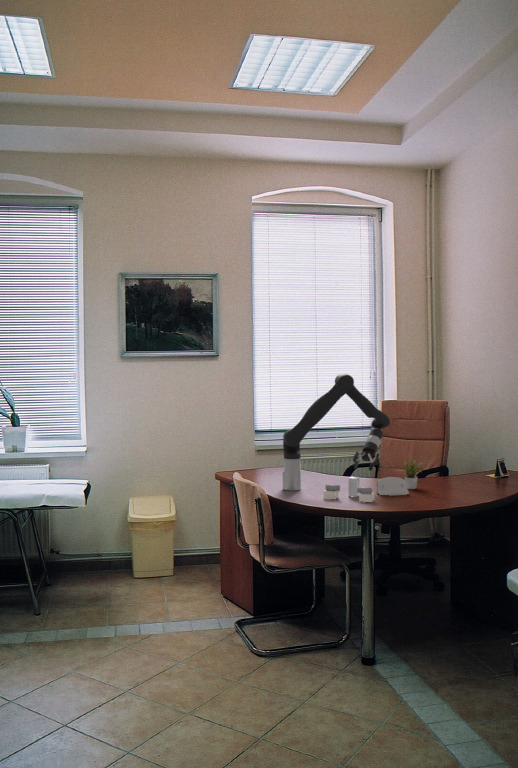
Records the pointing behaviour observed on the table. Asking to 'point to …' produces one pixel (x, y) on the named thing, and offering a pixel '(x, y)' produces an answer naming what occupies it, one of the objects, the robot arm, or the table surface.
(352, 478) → the coupler
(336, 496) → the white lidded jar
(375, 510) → the table surface
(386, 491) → the grey rounded block
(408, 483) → the house plant
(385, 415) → the robot arm
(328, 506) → the table surface
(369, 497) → the white and grey block
